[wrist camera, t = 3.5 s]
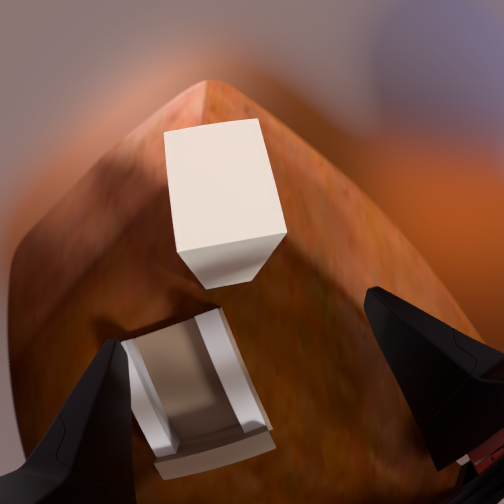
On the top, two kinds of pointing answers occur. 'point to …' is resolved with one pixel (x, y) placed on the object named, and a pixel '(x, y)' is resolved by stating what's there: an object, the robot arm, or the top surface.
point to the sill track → (195, 397)
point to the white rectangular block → (223, 200)
